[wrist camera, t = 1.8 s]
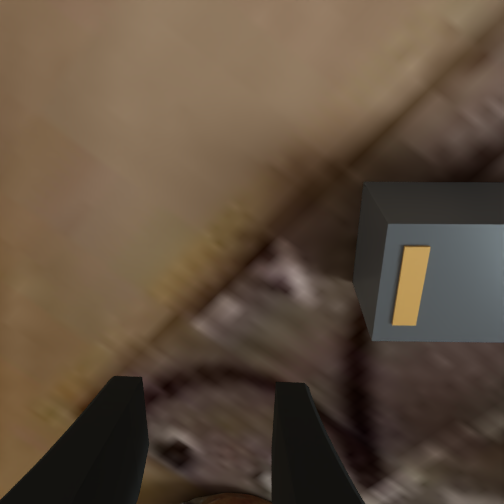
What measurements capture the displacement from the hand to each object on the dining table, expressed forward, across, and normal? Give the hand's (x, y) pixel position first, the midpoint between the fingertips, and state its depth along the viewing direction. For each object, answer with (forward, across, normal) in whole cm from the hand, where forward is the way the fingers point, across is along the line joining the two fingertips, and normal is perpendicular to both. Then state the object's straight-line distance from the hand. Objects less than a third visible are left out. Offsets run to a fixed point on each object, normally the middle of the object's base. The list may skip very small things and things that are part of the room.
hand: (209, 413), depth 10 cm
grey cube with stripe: (+10, -8, 0) cm, 13 cm away
